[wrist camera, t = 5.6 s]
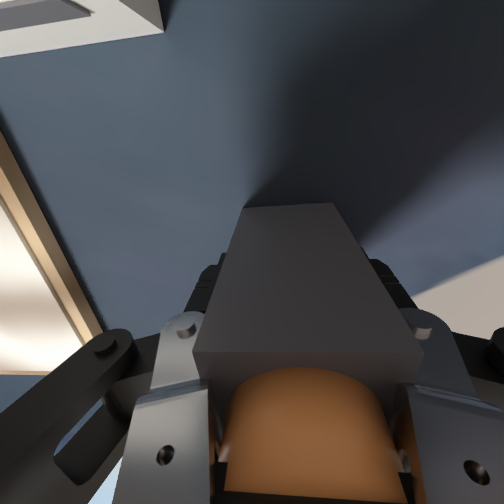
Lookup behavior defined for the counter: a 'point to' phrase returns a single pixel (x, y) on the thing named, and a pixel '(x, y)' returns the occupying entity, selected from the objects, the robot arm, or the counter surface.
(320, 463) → the ball-topped gray post
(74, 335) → the clipboard
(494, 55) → the counter surface
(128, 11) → the block
